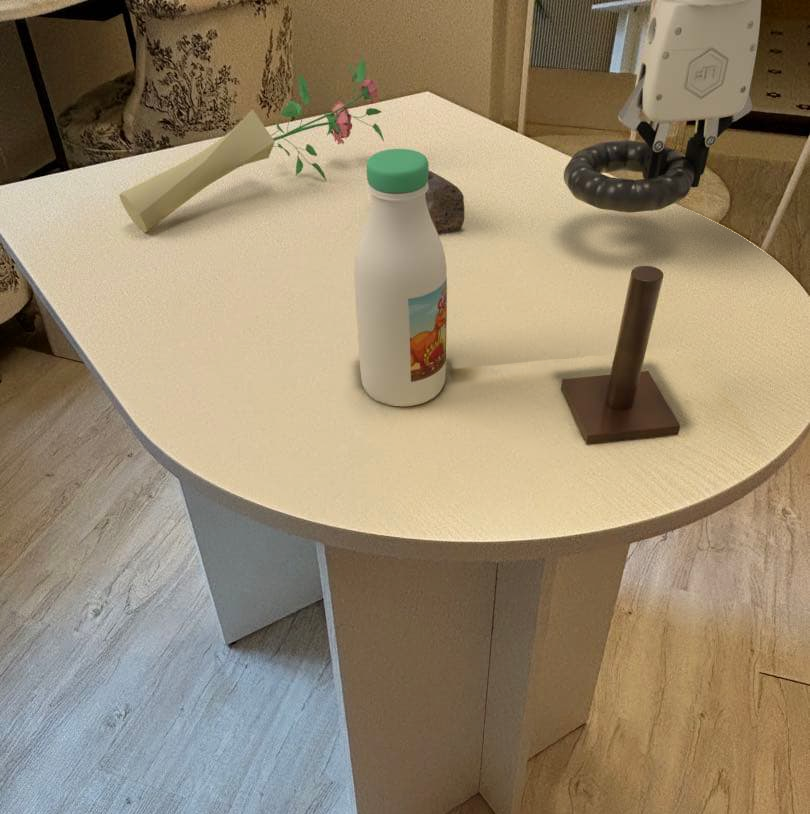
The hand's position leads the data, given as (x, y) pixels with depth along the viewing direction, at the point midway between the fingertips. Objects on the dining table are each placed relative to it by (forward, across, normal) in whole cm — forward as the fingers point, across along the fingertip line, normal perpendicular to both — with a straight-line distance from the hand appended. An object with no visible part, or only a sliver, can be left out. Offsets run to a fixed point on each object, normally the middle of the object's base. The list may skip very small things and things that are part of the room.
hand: (671, 182), depth 84 cm
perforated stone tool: (+7, -27, +10) cm, 29 cm away
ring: (-1, -5, 0) cm, 5 cm away
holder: (+7, -14, -28) cm, 32 cm away
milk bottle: (+7, -32, -21) cm, 39 cm away
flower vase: (+6, -44, +23) cm, 50 cm away
